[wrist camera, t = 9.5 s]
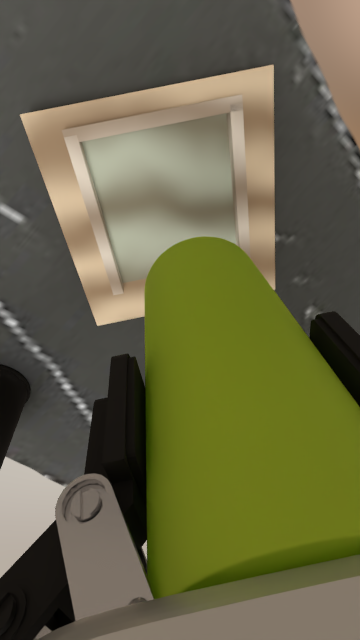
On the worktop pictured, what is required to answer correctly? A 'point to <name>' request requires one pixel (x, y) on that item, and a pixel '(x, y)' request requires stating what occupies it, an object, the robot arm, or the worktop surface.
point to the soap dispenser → (239, 428)
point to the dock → (159, 179)
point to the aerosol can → (10, 405)
